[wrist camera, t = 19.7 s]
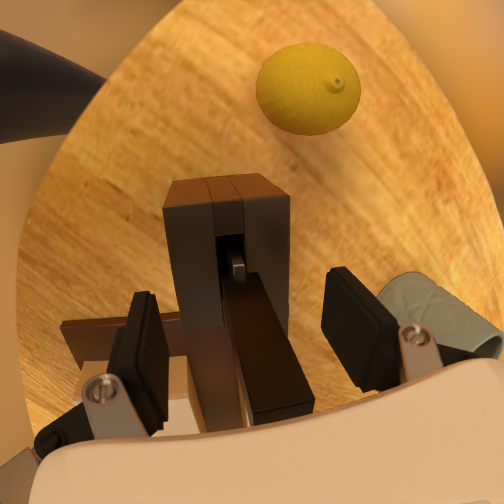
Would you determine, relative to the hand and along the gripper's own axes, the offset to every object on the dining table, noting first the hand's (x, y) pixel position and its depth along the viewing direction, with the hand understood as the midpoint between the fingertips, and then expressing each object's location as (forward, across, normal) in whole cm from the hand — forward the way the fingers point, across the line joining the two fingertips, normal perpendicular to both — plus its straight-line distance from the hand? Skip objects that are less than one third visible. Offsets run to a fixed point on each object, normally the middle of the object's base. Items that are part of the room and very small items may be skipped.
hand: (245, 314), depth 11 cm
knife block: (+11, 0, 0) cm, 11 cm away
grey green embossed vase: (+11, -18, +11) cm, 24 cm away
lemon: (+11, -5, -9) cm, 15 cm away
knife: (+11, 0, 0) cm, 11 cm away
